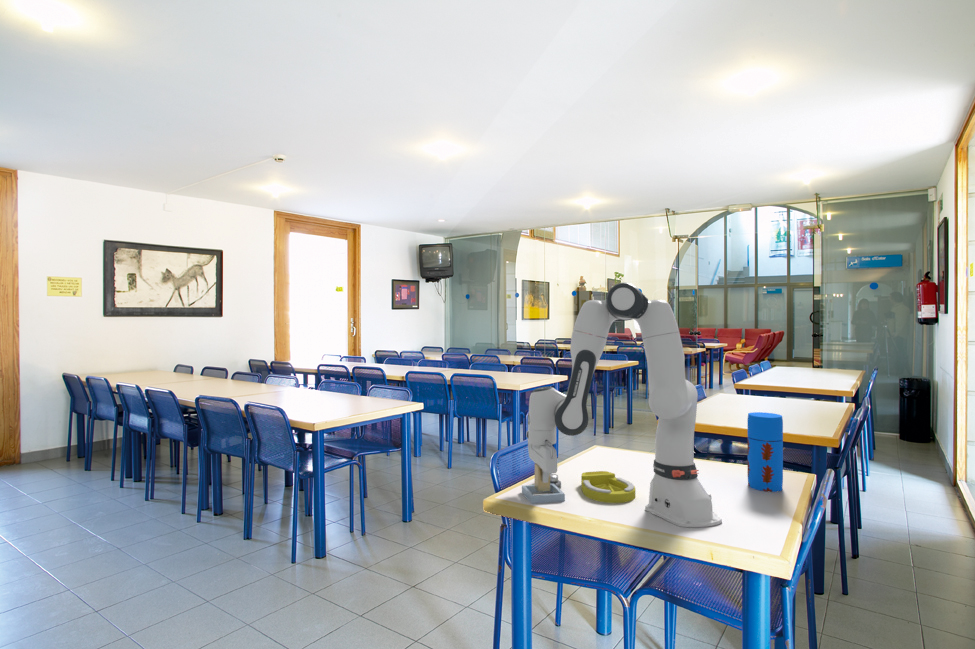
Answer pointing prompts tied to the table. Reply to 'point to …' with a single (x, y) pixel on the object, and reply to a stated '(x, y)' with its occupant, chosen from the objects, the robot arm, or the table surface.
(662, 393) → the robot arm
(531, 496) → the tray
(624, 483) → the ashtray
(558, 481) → the plinth
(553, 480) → the crank
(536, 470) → the block
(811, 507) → the table surface
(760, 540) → the table surface
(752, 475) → the thermos
